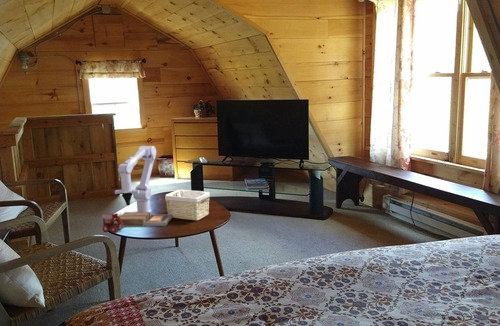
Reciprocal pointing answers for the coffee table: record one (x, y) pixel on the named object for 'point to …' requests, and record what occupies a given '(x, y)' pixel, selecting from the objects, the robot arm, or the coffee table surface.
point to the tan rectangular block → (156, 219)
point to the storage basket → (188, 204)
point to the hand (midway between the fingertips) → (128, 205)
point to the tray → (163, 223)
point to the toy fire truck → (111, 222)
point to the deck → (135, 218)
